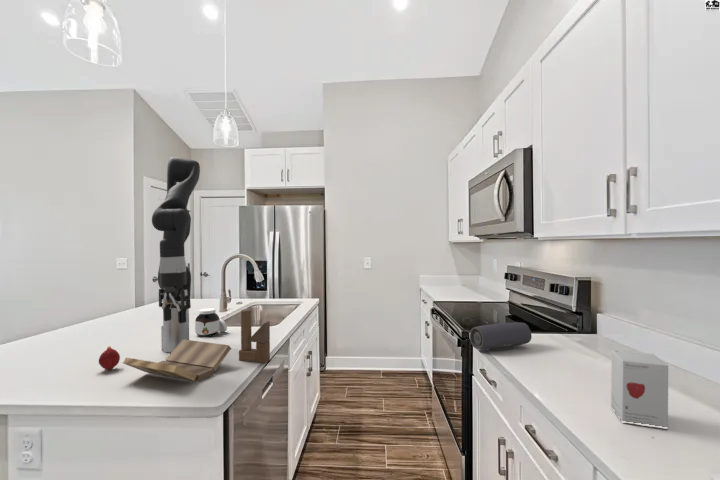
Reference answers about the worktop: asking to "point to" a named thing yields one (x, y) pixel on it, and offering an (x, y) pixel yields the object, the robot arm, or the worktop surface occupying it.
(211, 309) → the spread jar
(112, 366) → the onion
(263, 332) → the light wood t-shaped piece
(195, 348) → the oak plank far
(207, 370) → the mating board
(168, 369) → the oak plank near
